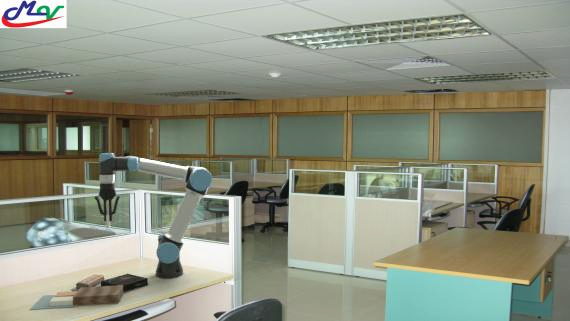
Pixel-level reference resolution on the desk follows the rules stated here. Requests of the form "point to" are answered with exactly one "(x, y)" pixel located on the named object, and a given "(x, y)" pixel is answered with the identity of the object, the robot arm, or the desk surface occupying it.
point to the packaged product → (89, 282)
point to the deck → (98, 295)
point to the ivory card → (61, 301)
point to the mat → (47, 303)
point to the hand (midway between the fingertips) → (108, 227)
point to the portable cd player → (126, 282)
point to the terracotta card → (65, 294)
